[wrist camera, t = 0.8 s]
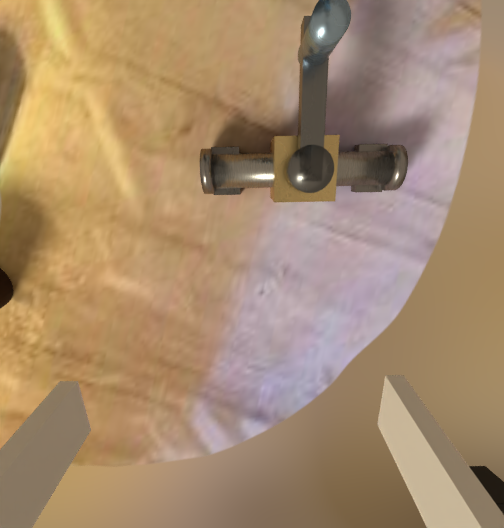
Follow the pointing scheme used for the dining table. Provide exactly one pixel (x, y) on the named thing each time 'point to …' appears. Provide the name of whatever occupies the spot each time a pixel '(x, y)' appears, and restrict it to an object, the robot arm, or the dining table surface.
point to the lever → (316, 94)
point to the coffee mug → (5, 289)
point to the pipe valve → (274, 166)
